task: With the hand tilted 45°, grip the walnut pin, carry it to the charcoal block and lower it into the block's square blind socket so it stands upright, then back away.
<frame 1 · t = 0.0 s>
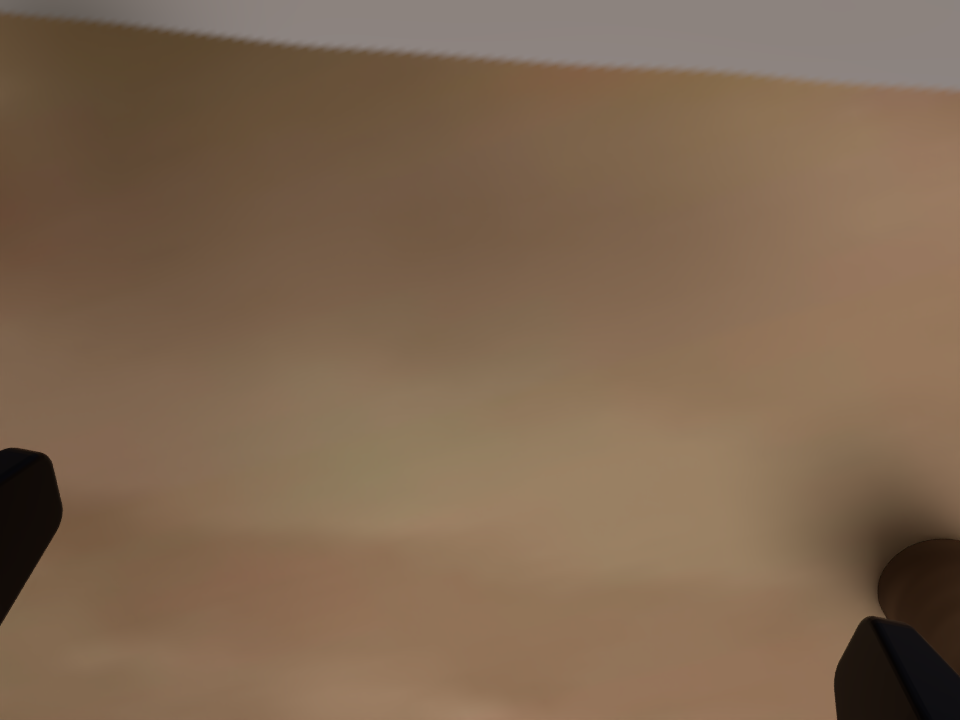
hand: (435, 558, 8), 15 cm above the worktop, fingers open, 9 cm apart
walnut pin: (937, 589, 24), on the worktop
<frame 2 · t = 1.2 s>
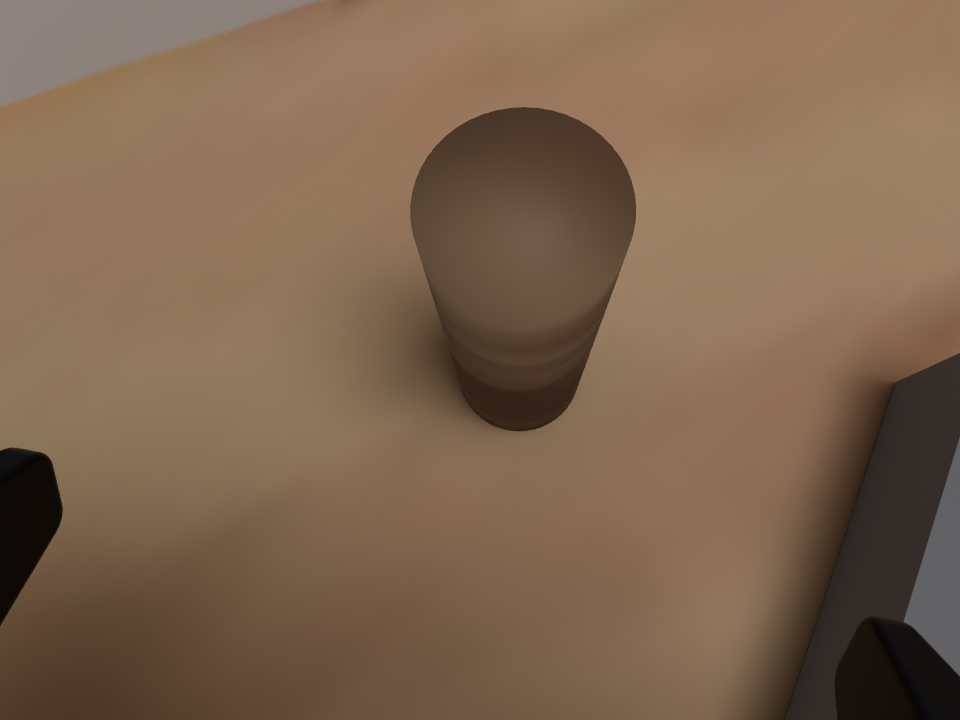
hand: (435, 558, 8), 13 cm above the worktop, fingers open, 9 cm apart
walnut pin: (519, 371, 23), on the worktop
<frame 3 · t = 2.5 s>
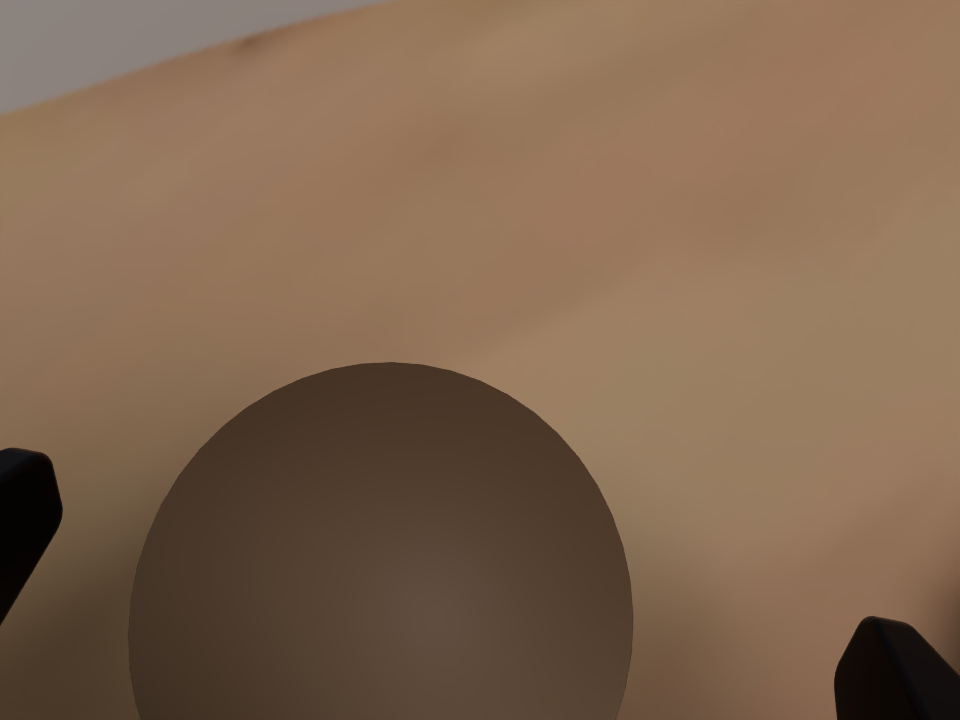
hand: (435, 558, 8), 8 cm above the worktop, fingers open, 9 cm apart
walnut pin: (468, 579, 16), on the worktop
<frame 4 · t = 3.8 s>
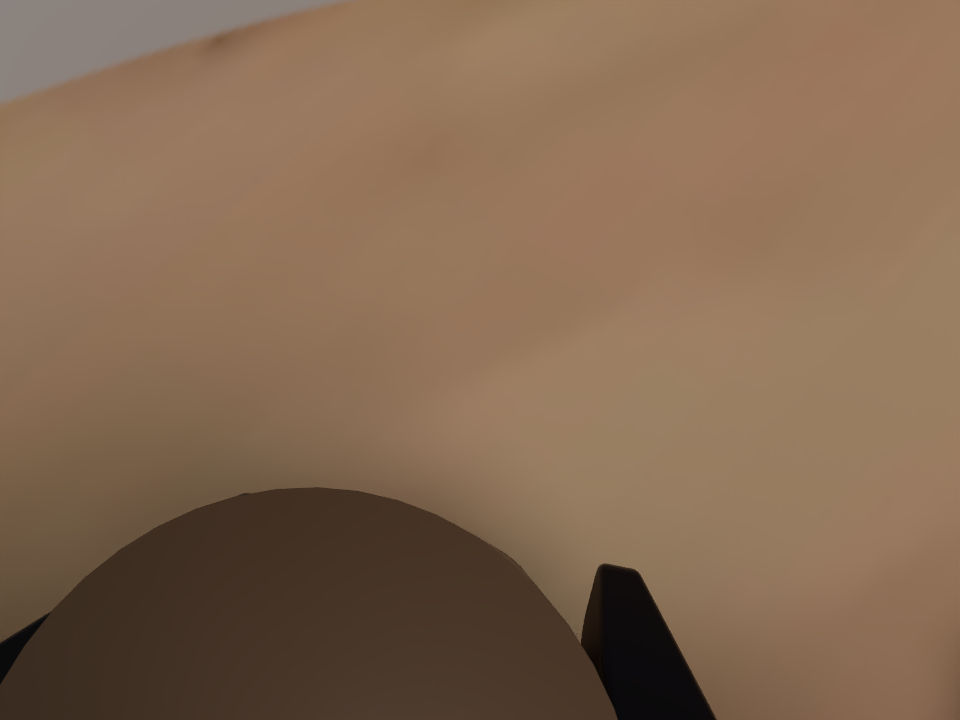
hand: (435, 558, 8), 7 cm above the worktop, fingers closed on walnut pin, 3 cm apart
walnut pin: (454, 633, 14), on the worktop, touching gripper
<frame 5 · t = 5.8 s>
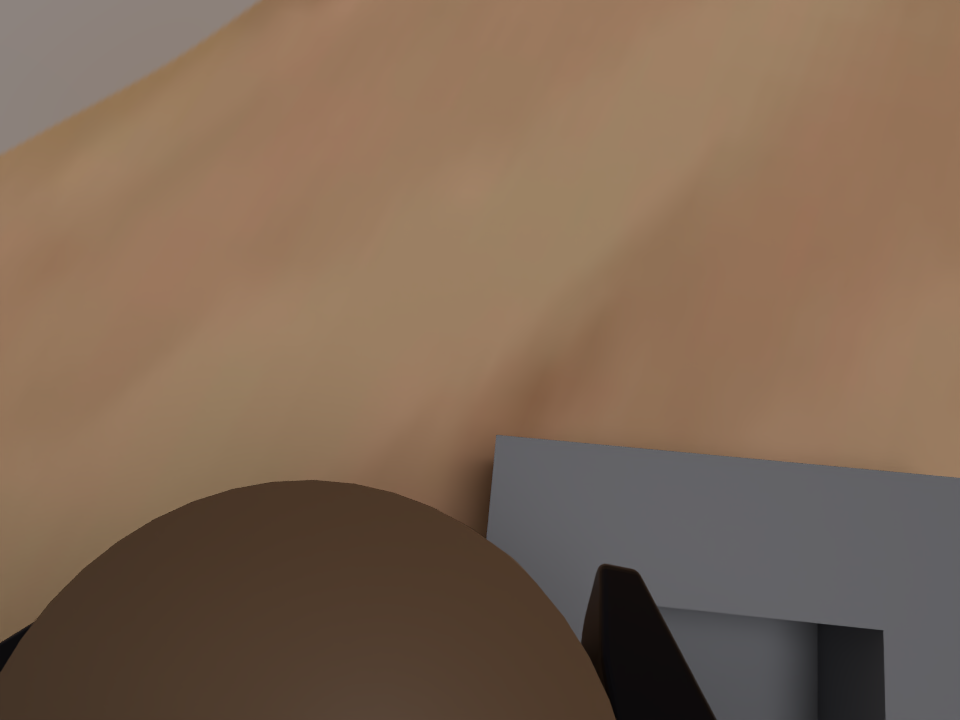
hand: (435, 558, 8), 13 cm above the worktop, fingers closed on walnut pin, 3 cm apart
walnut pin: (454, 631, 14), point 7 cm above the worktop, touching gripper
socket block: (705, 707, 20), on the worktop
when the fingers open (8 cm above the worktop, at t = 8.0 s): walnut pin stays where it is, resting on socket block.
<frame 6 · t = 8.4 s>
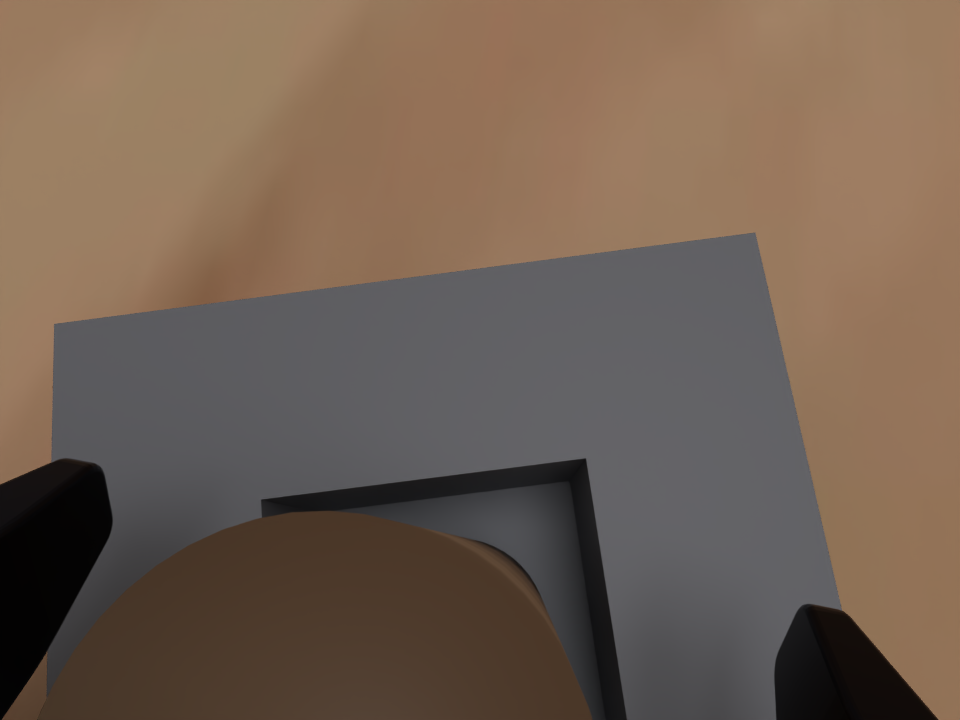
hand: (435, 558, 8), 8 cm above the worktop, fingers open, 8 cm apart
walnut pin: (458, 630, 15), point 1 cm above the worktop, touching socket block
socket block: (461, 626, 16), on the worktop
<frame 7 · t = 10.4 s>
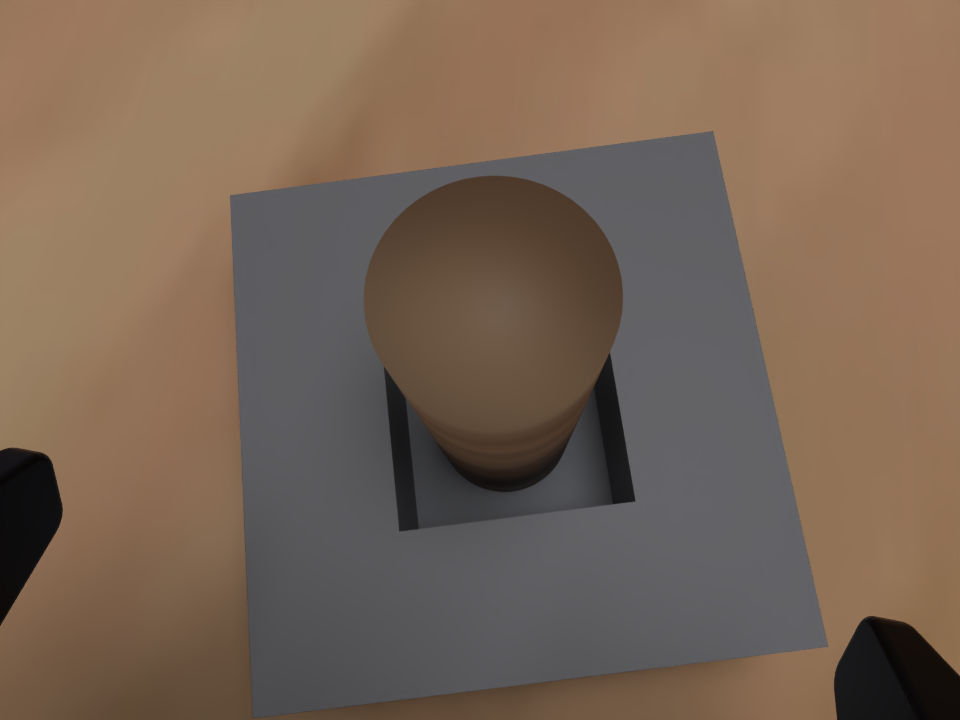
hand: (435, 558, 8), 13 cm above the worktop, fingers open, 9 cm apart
walnut pin: (504, 427, 21), point 1 cm above the worktop, touching socket block
socket block: (504, 431, 22), on the worktop
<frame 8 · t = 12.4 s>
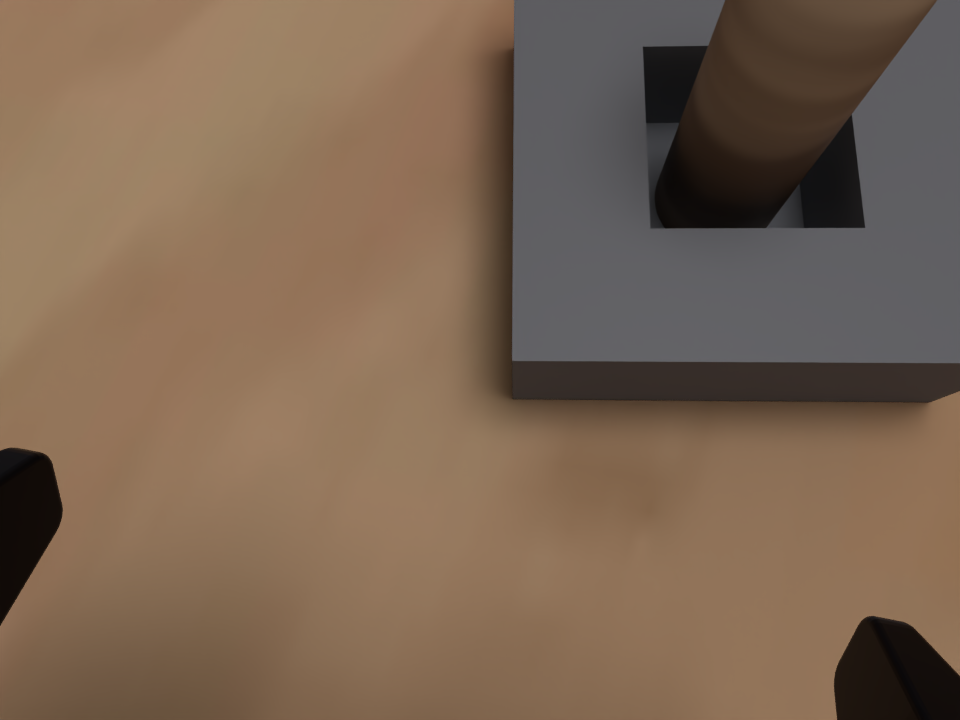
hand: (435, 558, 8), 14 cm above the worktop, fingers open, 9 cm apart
walnut pin: (713, 199, 23), point 1 cm above the worktop, touching socket block
socket block: (706, 211, 24), on the worktop
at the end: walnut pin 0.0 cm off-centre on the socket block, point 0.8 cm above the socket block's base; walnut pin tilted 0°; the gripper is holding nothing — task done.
